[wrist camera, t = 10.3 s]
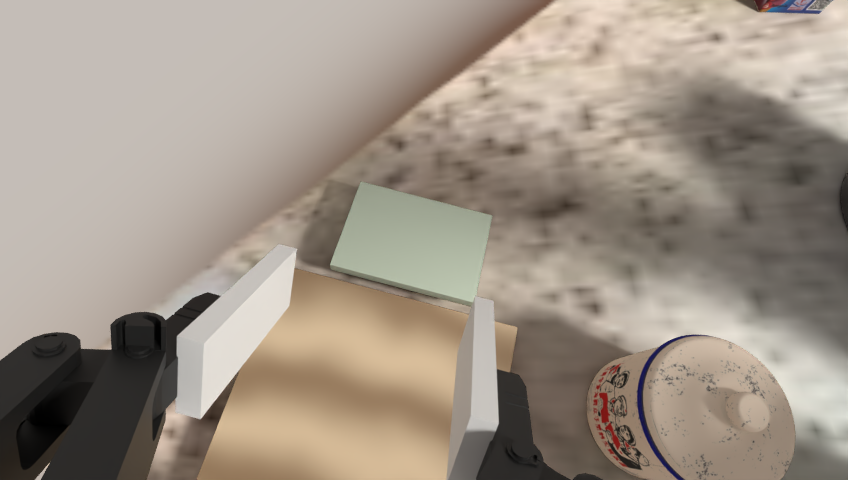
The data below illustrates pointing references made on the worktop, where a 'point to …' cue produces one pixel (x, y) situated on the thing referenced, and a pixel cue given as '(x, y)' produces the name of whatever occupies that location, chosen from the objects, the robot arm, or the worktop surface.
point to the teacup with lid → (692, 413)
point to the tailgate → (413, 243)
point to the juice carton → (792, 6)
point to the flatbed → (346, 389)
